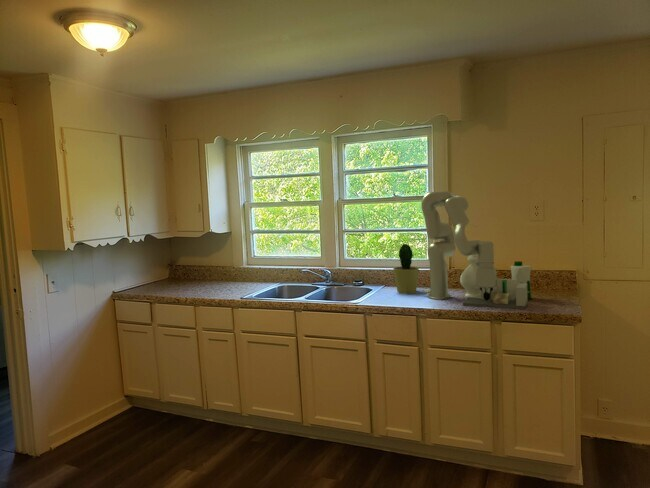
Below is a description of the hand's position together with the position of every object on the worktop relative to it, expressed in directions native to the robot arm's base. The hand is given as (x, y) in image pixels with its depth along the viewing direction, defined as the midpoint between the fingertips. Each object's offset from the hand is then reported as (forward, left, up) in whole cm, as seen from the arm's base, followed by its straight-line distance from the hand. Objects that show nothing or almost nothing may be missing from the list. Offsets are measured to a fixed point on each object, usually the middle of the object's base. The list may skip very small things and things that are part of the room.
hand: (486, 299), depth 255 cm
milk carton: (+15, +18, -3) cm, 24 cm away
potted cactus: (-51, +23, -3) cm, 56 cm away
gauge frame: (+4, +1, -3) cm, 5 cm away
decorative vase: (-9, +21, -3) cm, 23 cm away
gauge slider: (+7, +1, -1) cm, 7 cm away
